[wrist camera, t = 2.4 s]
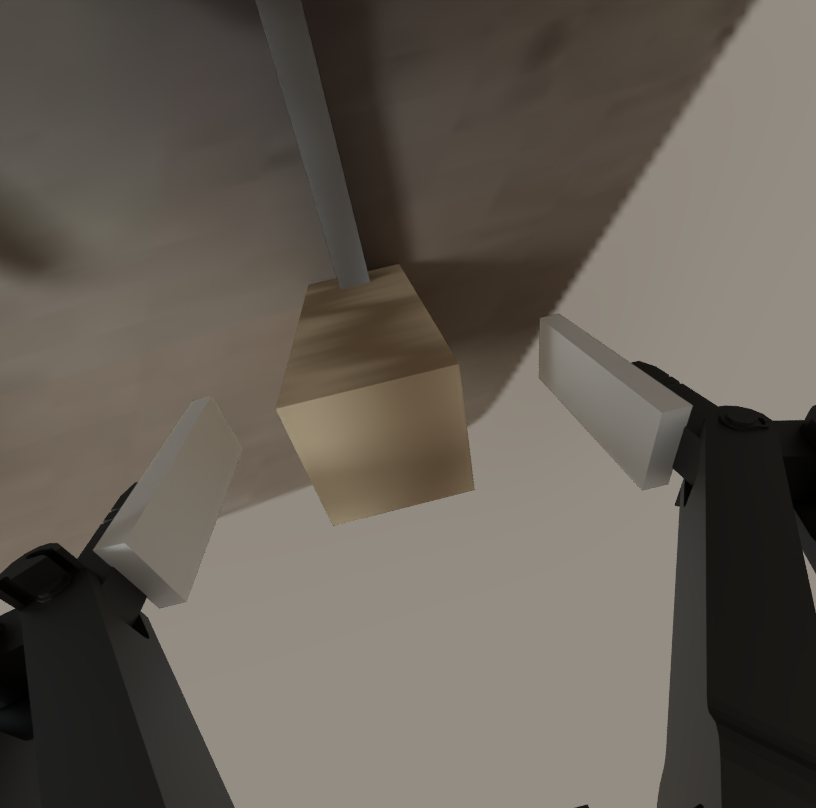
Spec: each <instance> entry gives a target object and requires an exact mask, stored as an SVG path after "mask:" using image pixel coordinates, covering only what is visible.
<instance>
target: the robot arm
mask: <svg viewBox="0 0 816 808" xmlns="http://www.w3.org/2000/svg"><path fill="white" fill-rule="evenodd" d="M539 378H540V380H541V381H542V382H543V383H544V384H545V385H546V386H547V387H548V388H549V389H550V390H551V392H552V393H553V394H554V395H555V396H556V397H557V398H558V399H559V400H560V401H561V403H562V404H563V405H564V406H565V407H566V408H567V409H568V410H569V411H570V412H571V413H572V414H573V416H574V417H575V418H576V419H577V420H578V421H579V422H580V423H581V424H582V426H583V427H584V428H585V429H586V430H587V431H588V432H589V433H590V434H591V435H592V436H593V438H595V440H596V441H597V442H598V443H599V444H600V445H601V446H602V447H603V448H604V449H605V451H606V452H607V453H608V454H609V455H610V456H611V457H612V458H613V459H614V460H615V462H616V463H617V464H618V465H619V466H620V467H621V468H622V469H623V470H624V471H625V473H626V474H627V475H628V476H629V477H630V478H631V479H632V480H633V481H634V482H635V483H636V485H637V486H638V487H639V488H640V489H641V490H647V489H650V488H655V487H659V486H663V485H667V484H668V483H669V480H670V476H671V474H672V470H673V469H674V470H675V471H676V472H678V473H679V474H680V475H681V476H682V477H683V478H684V480H683V483H682V485H681V488H680V491H679V494H678V497H677V500H676V503H675V506H680V512H679V530H678V548H677V565H676V584H675V602H674V619H673V638H672V655H671V673H670V691H669V710H668V727H667V745H666V758H665V765H664V769H663V774H662V778H661V782H660V787H659V794H658V802H657V808H816V612H815V607H814V602H813V597H812V593H811V588H810V583H809V579H808V574H807V570H806V565H805V560H804V556H803V551H804V553H805V555H806V557H807V559H808V560H809V562H810V564H811V566H812V568H813V569H814V571H815V573H816V405H815V406H813V407H812V408H811V409H810V411H809V413H808V414H807V416H806V418H805V420H794V421H793V420H792V421H791V420H788V421H772V420H771V419H769V418H768V417H766V416H765V415H764V414H762V413H759V412H757V411H754V410H752V409H748V408H743V407H739V406H719V407H718V406H716V405H715V404H713V403H712V402H710V401H709V400H707V399H706V398H704V397H702V396H701V395H699V394H698V393H696V392H695V391H693V390H692V389H690V388H688V387H687V386H685V385H684V384H680V383H679V381H677V380H676V379H674V378H673V377H669V375H668V374H667V373H665V372H664V371H662V370H660V369H659V368H657V367H655V366H653V365H649V364H647V363H643V362H640V361H637V362H632V363H630V362H629V361H627V360H626V359H624V358H623V357H621V356H620V355H618V354H617V353H616V352H614V351H613V350H611V349H610V348H608V347H607V346H605V345H604V344H602V343H601V342H599V341H598V340H597V339H595V338H593V337H592V336H591V335H589V334H588V333H586V332H585V331H583V330H582V329H581V328H579V327H578V326H576V325H574V324H573V323H571V322H570V321H569V320H568V319H566V318H565V317H563V316H562V315H560V314H555V315H550V316H546V317H542V318H540V339H539ZM242 450H243V448H242V446H241V444H240V443H239V441H238V439H237V437H236V436H235V434H234V432H233V431H232V429H231V427H230V426H229V424H228V422H227V421H226V419H225V417H224V416H223V414H222V412H221V411H220V409H219V407H218V405H217V404H216V402H215V400H214V399H213V397H212V396H209V397H204V398H200V399H196V400H192V402H191V403H190V405H189V406H188V408H187V409H186V411H185V412H184V414H183V415H182V417H181V418H180V420H179V421H178V423H177V424H176V426H175V427H174V429H173V430H172V432H171V433H170V435H169V436H168V438H167V439H166V441H165V442H164V444H163V445H162V447H161V448H160V450H159V451H158V453H157V454H156V456H155V457H154V459H153V460H152V462H151V463H150V465H149V466H148V468H147V469H146V471H145V472H144V474H143V475H142V477H141V479H140V480H139V482H136V483H134V484H133V485H132V486H131V487H130V488H129V489H128V490H127V491H126V492H125V493H123V494H122V495H121V496H120V498H119V499H118V501H117V502H116V504H115V505H114V506H113V508H112V509H111V511H112V512H110V513H109V514H108V515H107V517H106V518H105V519H104V521H103V522H104V524H101V525H100V527H99V528H98V530H97V531H96V533H95V534H94V535H93V537H92V538H91V540H90V541H89V543H88V544H87V546H86V547H85V549H84V550H83V551H82V553H81V554H80V556H79V557H78V559H76V558H75V557H74V556H73V555H71V554H70V553H69V552H68V551H67V550H65V549H64V548H63V547H62V546H61V545H59V544H58V543H49V544H46V545H43V546H39V547H37V548H35V549H33V550H31V551H29V552H27V553H26V554H24V555H23V556H21V557H20V558H18V559H17V560H16V561H14V562H13V563H12V564H10V565H9V566H8V567H7V568H6V569H5V570H4V571H3V572H2V573H1V574H0V599H1V600H3V601H5V602H6V603H8V604H9V605H11V606H13V607H14V608H15V609H13V610H11V611H9V612H7V613H5V614H3V615H1V616H0V808H234V805H233V803H232V801H231V799H230V797H229V794H228V792H227V790H226V788H225V786H224V783H223V781H222V779H221V777H220V775H219V772H218V770H217V768H216V766H215V764H214V762H213V759H212V757H211V755H210V753H209V751H208V748H207V746H206V744H205V742H204V740H203V737H202V735H201V733H200V731H199V729H198V726H197V724H196V722H195V720H194V718H193V716H192V713H191V711H190V709H189V707H188V705H187V702H186V700H185V698H184V696H183V694H182V692H181V689H180V687H179V685H178V683H177V680H176V678H175V676H174V674H173V672H172V669H171V667H170V665H169V663H168V661H167V659H166V656H165V654H164V652H163V650H162V648H161V645H160V643H159V641H158V639H157V637H156V634H155V632H154V630H153V628H152V626H151V623H150V621H149V619H148V617H146V616H145V615H144V614H143V613H142V612H141V609H142V607H143V604H144V602H145V600H146V598H148V599H149V600H150V601H151V602H152V603H154V604H155V605H156V606H157V607H158V608H164V607H168V606H172V605H176V604H180V603H184V602H187V599H188V596H189V594H190V591H191V588H192V585H193V583H194V580H195V577H196V575H197V572H198V569H199V566H200V564H201V561H202V558H203V555H204V553H205V550H206V547H207V544H208V542H209V539H210V537H211V534H212V531H213V529H214V526H215V523H216V520H217V518H218V515H219V512H220V510H221V507H222V504H223V501H224V499H225V496H226V493H227V491H228V488H229V485H230V482H231V480H232V477H233V474H234V472H235V469H236V466H237V464H238V461H239V458H240V455H241V453H242ZM802 550H803V551H802ZM577 808H589V807H588V805H584V806H580V807H577Z"/></svg>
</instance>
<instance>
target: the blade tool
mask: <svg viewBox="0 0 816 808" xmlns="http://www.w3.org/2000/svg"><path fill="white" fill-rule="evenodd" d="M255 2H256V5H257V9H258V12H259V15H260V19H261V22H262V25H263V29H264V32H265V36H266V39H267V42H268V46H269V49H270V53H271V56H272V59H273V63H274V66H275V70H276V73H277V76H278V80H279V83H280V86H281V90H282V93H283V97H284V100H285V103H286V107H287V110H288V114H289V117H290V120H291V124H292V127H293V131H294V134H295V137H296V141H297V144H298V148H299V151H300V154H301V158H302V161H303V164H304V168H305V171H306V175H307V178H308V181H309V185H310V188H311V192H312V195H313V198H314V202H315V205H316V209H317V212H318V215H319V219H320V222H321V225H322V229H323V232H324V236H325V239H326V242H327V246H328V249H329V253H330V256H331V259H332V263H333V266H334V270H335V273H336V276H337V279H333V280H329V281H324V282H320V283H316V284H312V285H308V289H307V293H306V296H305V300H304V304H303V308H302V312H301V315H300V319H299V323H298V327H297V330H296V334H295V338H294V342H293V346H292V349H291V353H290V357H289V361H288V364H287V368H286V372H285V376H284V379H283V383H282V387H281V391H280V395H279V398H278V402H277V406H276V411H277V413H278V415H279V417H280V419H281V421H282V423H283V425H284V427H285V429H286V431H287V433H288V435H289V437H290V439H291V441H292V443H293V445H294V447H295V449H296V451H297V454H298V456H299V458H300V460H301V462H302V464H303V466H304V468H305V470H306V472H307V474H308V476H309V478H310V480H311V482H312V484H313V486H314V488H315V490H316V492H317V494H318V496H319V498H320V501H321V503H322V504H323V507H324V509H325V511H326V512H327V515H328V517H329V519H330V521H331V523H332V525H333V526H335V525H339V524H342V523H346V522H350V521H354V520H358V519H362V518H366V517H370V516H374V515H378V514H382V513H386V512H390V511H394V510H397V509H401V508H405V507H409V506H413V505H417V504H421V503H425V502H429V501H433V500H437V499H441V498H445V497H448V496H453V495H456V494H460V493H464V492H468V491H472V490H475V489H474V481H473V474H472V465H471V456H470V448H469V440H468V432H467V423H466V415H465V407H464V399H463V391H462V382H461V374H460V366H459V363H458V361H457V359H456V358H455V356H454V354H453V353H452V351H451V349H450V348H449V346H448V344H447V343H446V341H445V339H444V338H443V336H442V334H441V333H440V331H439V329H438V328H437V326H436V324H435V323H434V321H433V319H432V318H431V316H430V314H429V313H428V311H427V310H426V308H425V306H424V305H423V303H422V301H421V300H420V298H419V296H418V295H417V293H416V291H415V290H414V288H413V286H412V285H411V283H410V281H409V280H408V278H407V276H406V275H405V273H404V271H403V270H402V268H401V266H400V265H399V264H396V265H392V266H388V267H383V268H379V269H375V270H371V271H367V267H366V263H365V259H364V255H363V251H362V247H361V242H360V238H359V234H358V230H357V226H356V222H355V218H354V214H353V210H352V206H351V202H350V198H349V193H348V189H347V185H346V181H345V177H344V173H343V169H342V165H341V161H340V157H339V153H338V149H337V144H336V140H335V136H334V132H333V128H332V124H331V120H330V116H329V112H328V108H327V104H326V100H325V95H324V91H323V87H322V83H321V79H320V75H319V71H318V67H317V63H316V59H315V55H314V51H313V47H312V42H311V38H310V34H309V30H308V26H307V22H306V18H305V14H304V10H303V6H302V2H301V0H255Z"/></svg>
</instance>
